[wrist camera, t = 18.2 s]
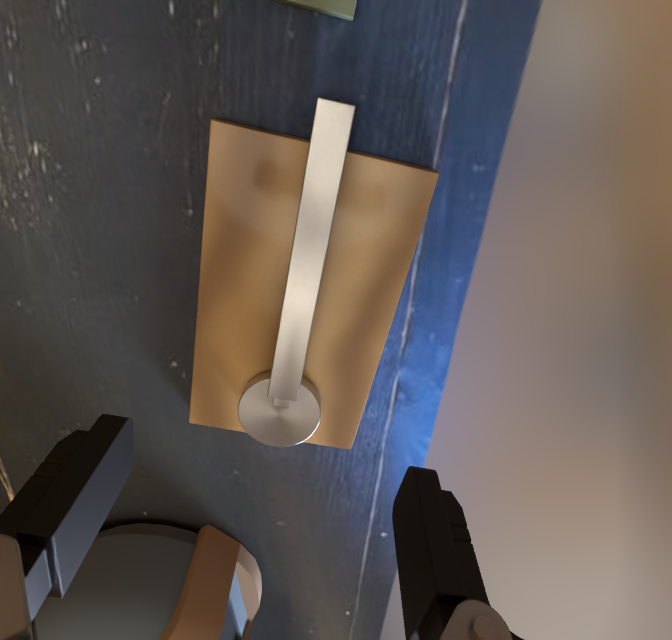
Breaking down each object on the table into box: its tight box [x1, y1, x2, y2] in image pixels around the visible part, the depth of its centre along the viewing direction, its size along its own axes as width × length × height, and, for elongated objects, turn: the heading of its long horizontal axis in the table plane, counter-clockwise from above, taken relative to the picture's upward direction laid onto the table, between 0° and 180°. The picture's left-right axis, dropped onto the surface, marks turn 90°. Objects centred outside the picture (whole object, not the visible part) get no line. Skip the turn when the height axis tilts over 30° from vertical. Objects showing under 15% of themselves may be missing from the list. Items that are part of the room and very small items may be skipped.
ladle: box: [238, 97, 356, 447], centre depth 27 cm, size 24×6×3 cm, turn 168°
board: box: [189, 118, 439, 450], centre depth 29 cm, size 13×22×1 cm, turn 168°
